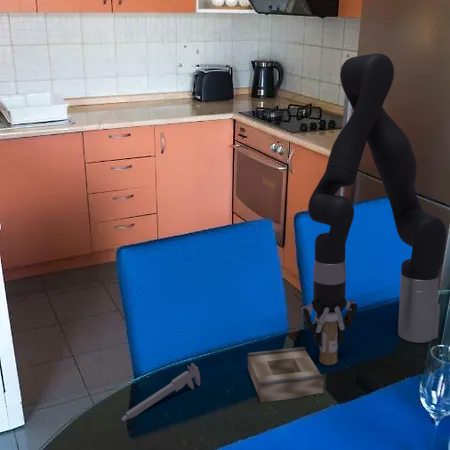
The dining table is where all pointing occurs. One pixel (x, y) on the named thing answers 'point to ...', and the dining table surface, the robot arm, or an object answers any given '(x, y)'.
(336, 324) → the sprinkles bottle
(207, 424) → the dining table surface
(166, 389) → the caliper
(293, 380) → the block
